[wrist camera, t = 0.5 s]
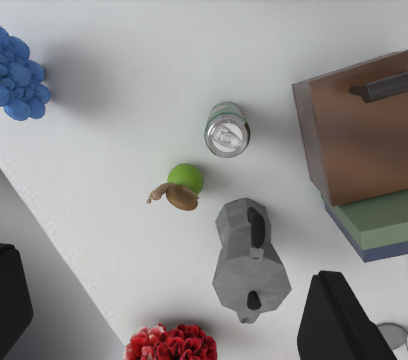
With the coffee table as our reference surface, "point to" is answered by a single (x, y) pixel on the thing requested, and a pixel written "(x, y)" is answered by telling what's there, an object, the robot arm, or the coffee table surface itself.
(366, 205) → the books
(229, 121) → the soda can
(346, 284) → the robot arm
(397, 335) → the pocket watch
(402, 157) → the lid
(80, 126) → the coffee table surface
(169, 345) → the carnation
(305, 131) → the chest
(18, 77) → the grapes
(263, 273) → the coffeepot
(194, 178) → the snail figurine
